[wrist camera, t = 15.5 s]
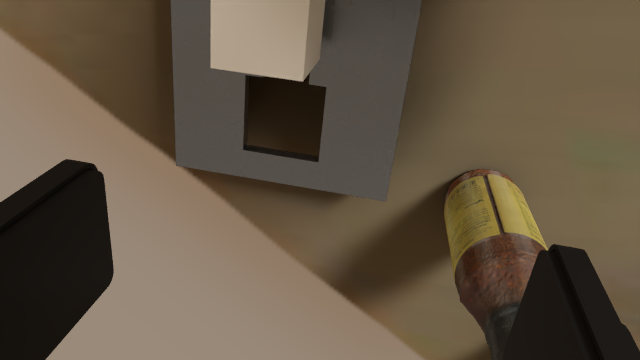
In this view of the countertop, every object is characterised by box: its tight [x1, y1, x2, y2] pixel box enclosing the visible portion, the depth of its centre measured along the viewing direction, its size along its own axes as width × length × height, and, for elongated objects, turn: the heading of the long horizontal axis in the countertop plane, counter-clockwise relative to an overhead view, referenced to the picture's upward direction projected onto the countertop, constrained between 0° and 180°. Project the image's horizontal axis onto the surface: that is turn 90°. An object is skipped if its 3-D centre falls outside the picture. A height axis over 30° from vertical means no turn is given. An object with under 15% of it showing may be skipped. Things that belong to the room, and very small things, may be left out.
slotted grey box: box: [171, 0, 422, 201], centre depth 37 cm, size 17×16×6 cm
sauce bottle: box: [444, 169, 548, 360], centre depth 34 cm, size 7×6×20 cm
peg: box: [211, 0, 325, 82], centre depth 32 cm, size 5×5×14 cm
